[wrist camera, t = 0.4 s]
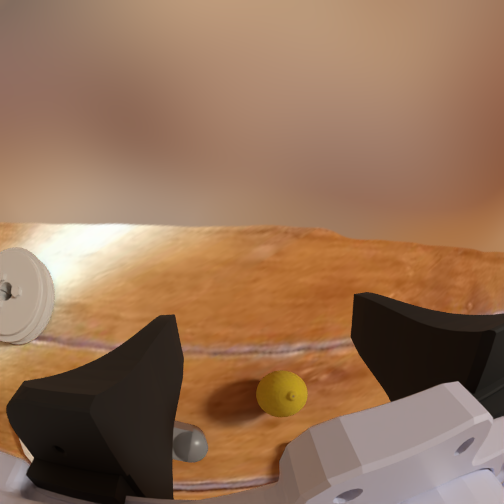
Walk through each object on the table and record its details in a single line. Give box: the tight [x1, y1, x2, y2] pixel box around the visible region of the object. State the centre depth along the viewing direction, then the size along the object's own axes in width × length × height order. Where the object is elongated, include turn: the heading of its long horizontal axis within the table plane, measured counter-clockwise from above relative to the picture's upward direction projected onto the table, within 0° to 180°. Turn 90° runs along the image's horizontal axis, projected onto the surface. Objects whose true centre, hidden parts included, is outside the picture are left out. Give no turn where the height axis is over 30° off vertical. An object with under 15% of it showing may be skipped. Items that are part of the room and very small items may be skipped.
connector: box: [172, 421, 208, 462], centre depth 28 cm, size 4×10×4 cm, turn 79°
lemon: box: [256, 371, 308, 417], centre depth 31 cm, size 6×6×8 cm
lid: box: [0, 248, 54, 345], centre depth 29 cm, size 13×13×5 cm
